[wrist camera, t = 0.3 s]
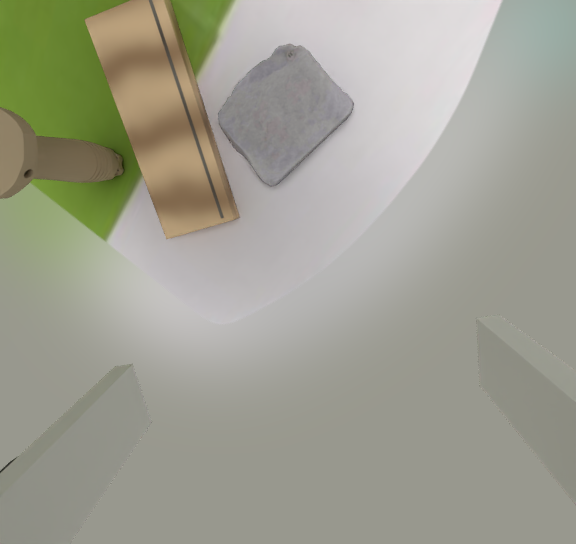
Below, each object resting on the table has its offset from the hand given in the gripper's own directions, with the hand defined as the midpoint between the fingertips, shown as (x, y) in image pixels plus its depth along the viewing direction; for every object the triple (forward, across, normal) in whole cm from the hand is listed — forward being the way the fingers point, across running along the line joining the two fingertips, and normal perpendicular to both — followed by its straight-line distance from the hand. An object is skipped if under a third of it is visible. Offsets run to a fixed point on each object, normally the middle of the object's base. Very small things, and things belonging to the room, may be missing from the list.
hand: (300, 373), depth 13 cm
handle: (+27, -20, +13) cm, 36 cm away
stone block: (+28, -1, +14) cm, 31 cm away
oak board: (+27, -12, +15) cm, 33 cm away
